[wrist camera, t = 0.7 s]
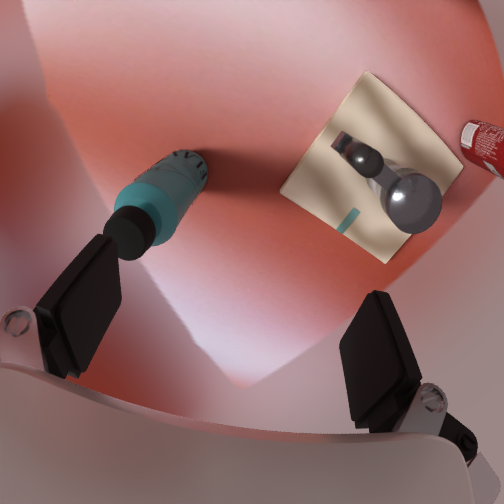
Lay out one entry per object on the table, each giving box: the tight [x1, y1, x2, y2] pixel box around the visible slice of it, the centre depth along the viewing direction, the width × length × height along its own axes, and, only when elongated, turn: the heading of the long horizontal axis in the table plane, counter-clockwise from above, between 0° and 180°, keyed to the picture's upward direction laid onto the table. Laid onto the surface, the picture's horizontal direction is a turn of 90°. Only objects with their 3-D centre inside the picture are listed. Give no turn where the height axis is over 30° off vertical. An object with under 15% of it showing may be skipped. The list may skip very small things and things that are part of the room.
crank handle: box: [330, 131, 442, 234], centre depth 24 cm, size 14×6×7 cm, turn 58°
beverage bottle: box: [103, 149, 209, 261], centre depth 29 cm, size 6×7×20 cm
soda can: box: [460, 120, 504, 179], centre depth 26 cm, size 7×7×12 cm
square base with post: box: [280, 71, 464, 264], centre depth 32 cm, size 20×20×8 cm
